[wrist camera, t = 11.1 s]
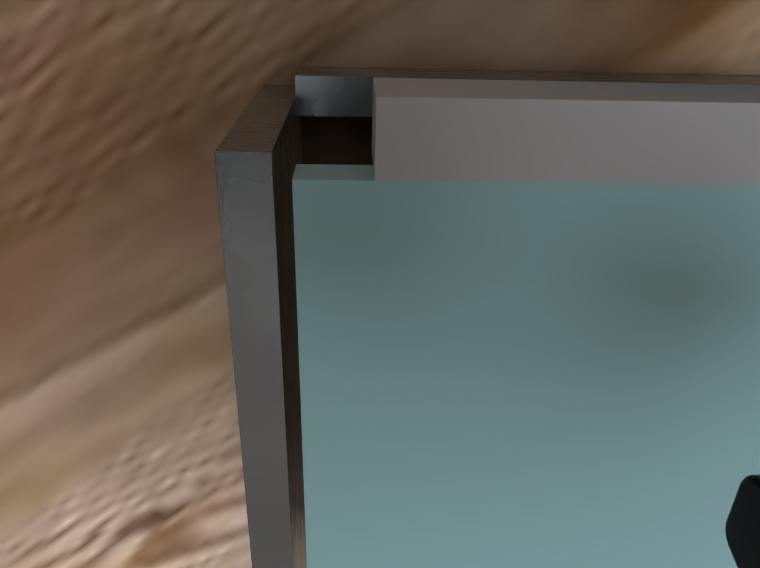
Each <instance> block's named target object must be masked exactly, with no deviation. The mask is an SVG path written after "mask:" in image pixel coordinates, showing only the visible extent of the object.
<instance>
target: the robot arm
mask: <svg viewBox="0 0 760 568" xmlns="http://www.w3.org/2000/svg"><path fill="white" fill-rule="evenodd" d="M725 534H726V539H727V543H728V546H729V548H730V551H731V553H732V556H733V558H734V560H735V563H736V565H737V568H760V475H749V476H746V477H745V478H744V479H743V480H742V481H741V483H740V485H739V488H738V491H737V493H736V496H735V499H734V501H733V504H732V507H731V509H730V512H729V515H728V518H727V520H726V526H725Z"/></svg>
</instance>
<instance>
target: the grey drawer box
mask: <svg viewBox="0 0 760 568" xmlns="http://www.w3.org/2000/svg"><path fill="white" fill-rule="evenodd" d="M373 77H376V78H429V79H483V80H537V81H591V82H644V83H698V84H752V85H760V76H744V75H692V74H640V73H588V72H536V71H484V70H432V69H380V68H328V67H299V68H298V70H297V72H296V74H295V86H274V85H263V86H262V88H261V89H260V90H259V92H258V93H257V94H256V96H255V97H254V98H253V100H252V101H251V102H250V104H249V105H248V106H247V108H246V109H245V111H244V112H243V113H242V115H241V116H240V117H239V119H238V120H237V121H236V123H235V124H234V125H233V127H232V128H231V130H230V131H229V132H228V134H227V135H226V136H225V138H224V139H223V140H222V142H221V143H220V144H219V146H218V147H217V148H216V150H215V151H214V153H215V164H216V175H217V186H218V197H219V208H220V219H221V230H222V241H223V252H224V263H225V274H226V285H227V296H228V307H229V318H230V329H231V340H232V351H233V362H234V373H235V384H236V395H237V405H238V416H239V427H240V438H241V449H242V460H243V471H244V482H245V493H246V504H247V515H248V526H249V537H250V548H251V559H252V568H307V554H306V528H305V502H304V476H303V450H302V424H301V398H300V372H299V346H298V321H297V295H296V269H295V243H294V217H293V191H292V178H293V174H294V171H295V167H296V164H302V143H301V116H341V117H372V109H373Z"/></svg>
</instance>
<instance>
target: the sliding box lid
mask: <svg viewBox="0 0 760 568" xmlns="http://www.w3.org/2000/svg"><path fill="white" fill-rule="evenodd" d="M372 159H373V165H326V164H296V167H295V171H294V174H293V178H292V191H293V217H294V243H295V269H296V295H297V321H298V346H299V372H300V398H301V424H302V450H303V476H304V502H305V528H306V554H307V568H737V565H736V563H735V560H734V558H733V556H732V553H731V551H730V548H729V546H728V543H727V539H726V534H725V526H726V520H727V518H728V515H729V512H730V509H731V507H732V504H733V501H734V499H735V496H736V493H737V491H738V488H739V485H740V483H741V481H742V480H743V479H744V478H745V477H746V476H749V475H760V85H752V84H698V83H644V82H591V81H537V80H483V79H429V78H376V77H373V109H372Z"/></svg>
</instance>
